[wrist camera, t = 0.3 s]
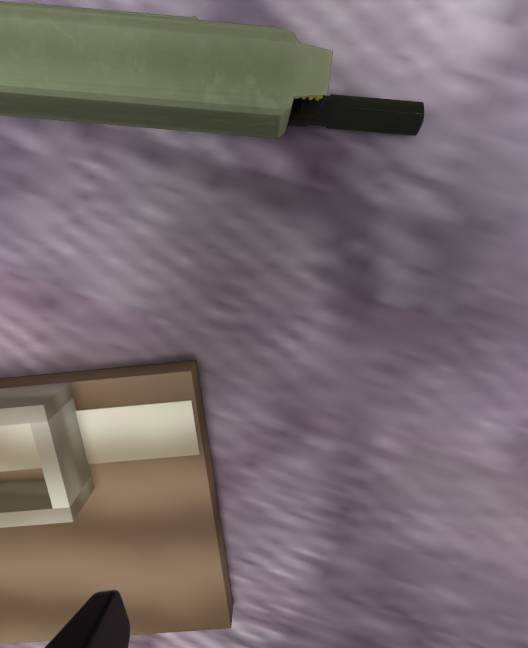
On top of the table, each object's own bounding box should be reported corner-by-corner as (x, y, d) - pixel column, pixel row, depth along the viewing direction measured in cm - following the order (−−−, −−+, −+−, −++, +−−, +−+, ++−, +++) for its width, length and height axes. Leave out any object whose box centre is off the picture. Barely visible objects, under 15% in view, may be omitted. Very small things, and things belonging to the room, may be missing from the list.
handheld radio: (-151, 32, 18) (418, 81, 19) (-136, 114, 19) (405, 160, 20) (-373, -53, 12) (495, 23, 12) (-334, 77, 13) (470, 145, 13)
